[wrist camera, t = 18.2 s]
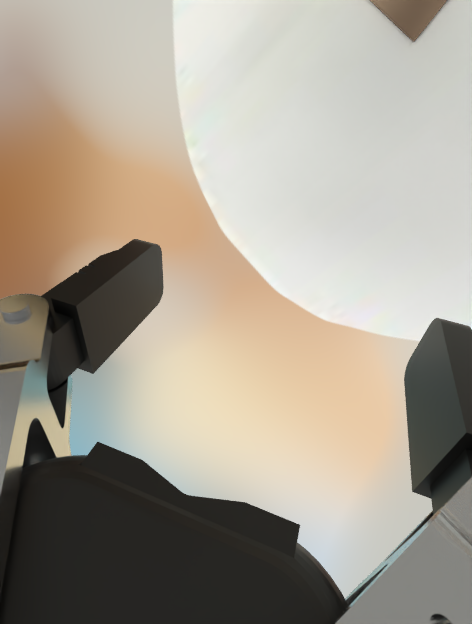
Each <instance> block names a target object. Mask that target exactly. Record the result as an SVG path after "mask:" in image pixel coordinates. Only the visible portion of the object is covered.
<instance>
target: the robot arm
mask: <svg viewBox="0 0 472 624" xmlns="http://www.w3.org/2000/svg"><path fill="white" fill-rule="evenodd" d="M162 294H163V270H162V251H161V248H160V246H158V245H157V244H153V243H149V242H146V241H141V240H138V239H134V240H132V241H130V242H129V243H128V244H126V245H125V246H123V247H122V248H121V249H119V250H116V251H113V252H110V253H107V254H104V255H101V256H99V257H98V258H96V259H95V260H94V261H92V262H91V263H89V265H88V266H85V267H83V268H82V269H80V270H79V272H78V273H77V272H76V273H74V274H73V275H71V276H70V277H69V278H67V279H66V280H64V281H63V282H61V283H60V284H58V285H57V286H55V287H54V288H52V289H51V290H49V291H48V292H46V293H45V294H44V295H42V296H38V295H34V294H19V295H13V296H8V297H5V298H3V299H0V624H472V330H471V328H470V327H469V326H466V325H463V324H459V323H455V322H451V321H447V320H443V319H439V318H436V319H434V320H433V321H432V322H431V324H430V325H429V327H428V329H427V331H426V332H425V334H424V336H423V337H422V339H421V341H420V343H419V344H418V346H417V348H416V349H415V351H414V353H413V354H412V356H411V358H410V360H409V362H408V364H407V367H406V371H405V378H404V381H405V396H406V410H407V423H408V438H409V451H410V465H411V479H412V491H413V492H415V493H418V494H420V495H423V496H426V497H429V498H431V499H432V507H433V511H432V512H431V513H430V514H429V515H428V516H427V517H426V518H425V519H424V520H423V521H422V522H421V523H420V524H419V525H418V526H417V527H416V528H415V529H414V530H413V531H412V532H411V533H410V534H409V535H408V536H407V537H406V538H405V539H404V540H403V541H402V542H401V543H400V544H399V545H398V547H396V548H395V550H393V552H392V553H391V554H390V555H389V556H388V557H387V558H386V559H385V560H384V561H383V562H382V563H381V564H380V565H379V566H378V567H377V568H376V569H375V570H374V571H373V572H372V573H371V574H370V575H369V576H368V577H367V578H366V579H365V580H364V581H363V582H362V583H360V584H359V585H358V587H356V588H355V589H354V590H353V591H352V592H351V594H349V596H348V597H347V598H346V599H344V597H343V595H342V593H341V591H340V590H339V588H338V587H337V585H336V584H335V582H334V581H333V579H332V578H331V576H330V575H329V574H328V573H327V571H326V570H325V569H324V568H323V566H322V565H321V564H320V563H319V562H318V561H317V560H316V559H315V558H314V557H313V556H312V555H311V554H310V553H309V552H308V551H307V550H306V549H305V548H304V547H302V546H301V545H300V544H298V543H297V539H298V533H299V527H300V525H299V524H296V523H294V522H291V521H289V520H286V519H284V518H281V517H279V516H277V515H274V514H272V513H269V512H267V511H265V510H262V509H260V508H257V507H255V506H252V505H250V504H248V503H245V502H237V501H229V500H221V499H213V498H204V497H195V496H189V495H186V494H184V493H182V492H181V491H180V490H178V489H177V488H176V487H175V486H173V485H172V484H171V483H169V481H167V480H166V479H165V478H164V477H162V476H161V475H160V474H159V473H158V472H156V471H155V470H154V469H152V468H151V467H150V466H149V465H148V464H147V463H145V462H144V461H143V460H141V459H138V458H136V457H134V456H131V455H129V454H126V453H124V452H121V451H119V450H116V449H114V448H112V447H109V446H107V445H104V444H102V443H99V442H97V443H96V445H95V446H94V447H93V449H92V450H91V451H90V453H89V454H88V455H87V456H85V455H80V456H71V451H70V444H69V430H70V414H71V399H72V382H73V381H72V377H71V374H72V373H73V372H74V371H75V370H76V369H77V368H79V369H82V370H84V371H87V372H90V373H92V374H93V373H94V372H95V371H96V370H97V369H98V368H99V367H100V366H101V365H102V364H103V363H104V362H105V360H107V358H108V357H109V356H110V355H111V354H112V353H113V352H114V351H115V350H116V349H117V348H118V347H119V346H120V344H121V343H122V342H123V341H124V340H125V339H126V338H127V337H128V336H129V335H130V334H131V333H132V332H133V331H134V330H135V329H136V327H137V326H138V325H139V324H140V323H141V322H142V321H143V320H144V319H145V318H146V317H147V316H148V315H149V314H150V312H151V311H152V310H153V309H154V308H155V307H156V306H157V305H158V303H159V302H160V300H161V297H162Z"/></svg>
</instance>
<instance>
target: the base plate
mask: <svg viewBox="0 0 472 624" xmlns="http://www.w3.org/2000/svg"><path fill="white" fill-rule="evenodd" d="M370 1H371V2H372V3H373V4H374V5H375V6H376V7H377V8H378V9H379V10H380V11H381V12H382V13H383V14H385V15H386V16H387V17H388V18H389V19H390V20H391V21H392V22H393V23H394V24H395V25H396V26H397V27H398V28H399V29H400V30H401V31H402V32H403V33H405V34H406V35H407V36H408V37H409V38H410V39H411V40H412V41H413V42H414V41H415V40H416V39H417V37H418V36H419V35H420V34H421V32H422V31H423V30H424V29H425V27H426V26H427V25H428V24H429V22H430V21H431V20H432V19H433V17H434V16H435V15H436V14H437V12H438V11H439V10H440V9H441V7H442V6H443V5H444V4H445V2H446V1H447V0H370Z"/></svg>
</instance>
